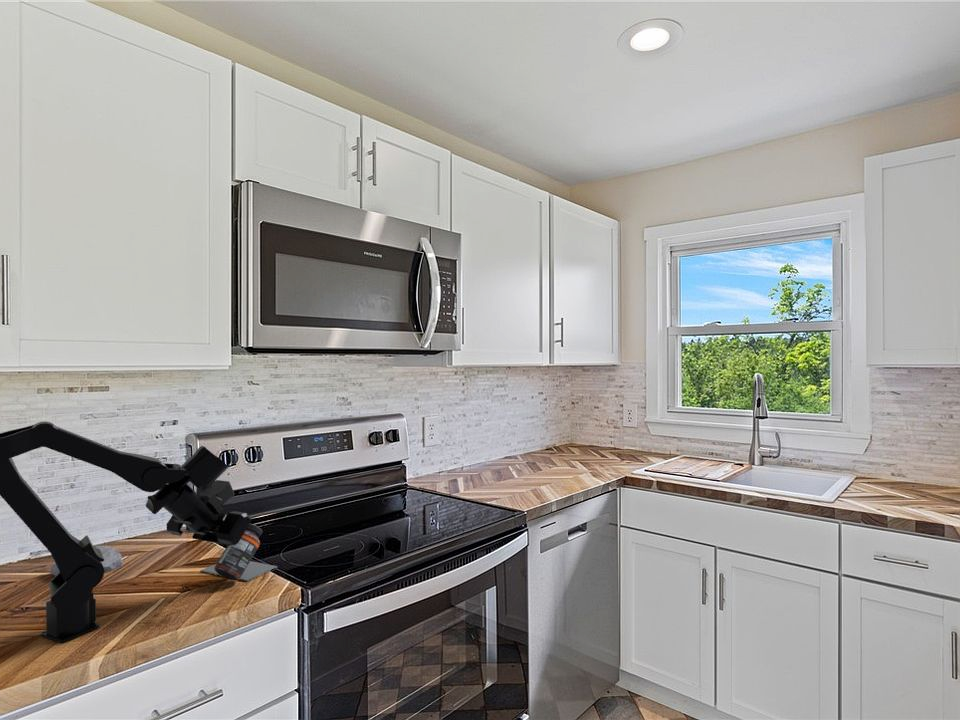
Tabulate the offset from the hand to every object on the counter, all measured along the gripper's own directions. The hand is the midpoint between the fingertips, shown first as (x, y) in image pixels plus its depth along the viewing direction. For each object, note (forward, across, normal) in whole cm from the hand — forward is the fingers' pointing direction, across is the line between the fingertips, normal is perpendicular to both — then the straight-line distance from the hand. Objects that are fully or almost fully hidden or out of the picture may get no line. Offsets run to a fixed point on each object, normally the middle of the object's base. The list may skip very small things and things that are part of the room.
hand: (231, 543), depth 127 cm
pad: (+10, +4, +2) cm, 11 cm away
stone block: (0, +35, +12) cm, 37 cm away
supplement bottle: (+3, 0, +6) cm, 7 cm away
